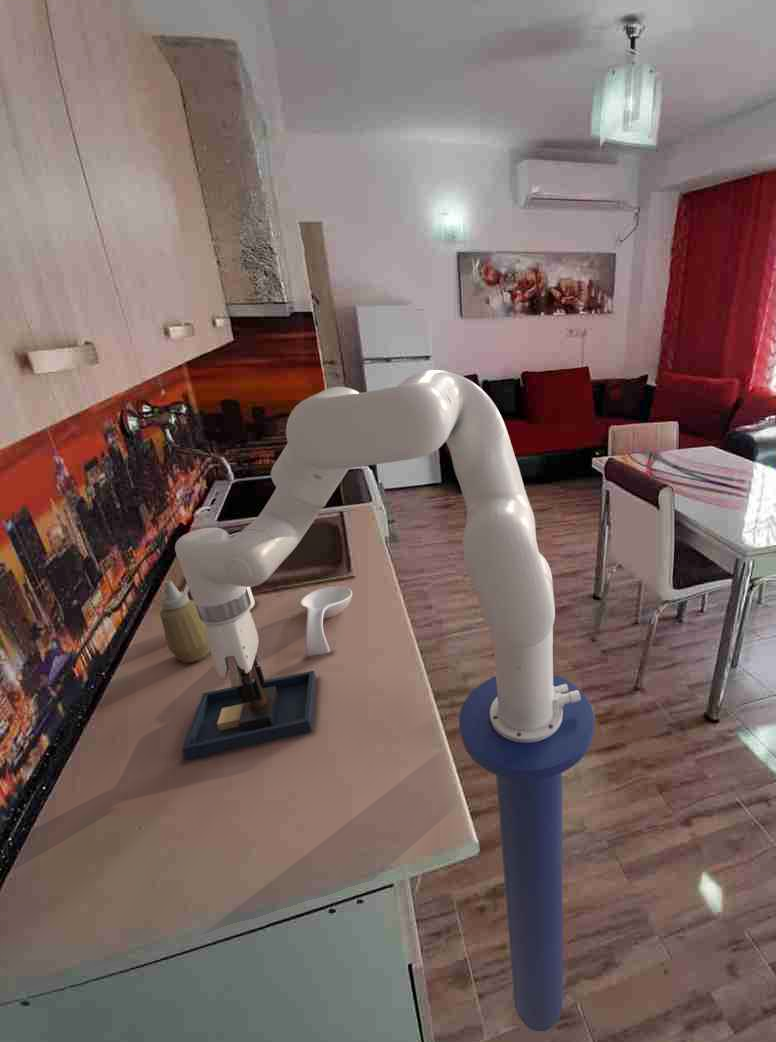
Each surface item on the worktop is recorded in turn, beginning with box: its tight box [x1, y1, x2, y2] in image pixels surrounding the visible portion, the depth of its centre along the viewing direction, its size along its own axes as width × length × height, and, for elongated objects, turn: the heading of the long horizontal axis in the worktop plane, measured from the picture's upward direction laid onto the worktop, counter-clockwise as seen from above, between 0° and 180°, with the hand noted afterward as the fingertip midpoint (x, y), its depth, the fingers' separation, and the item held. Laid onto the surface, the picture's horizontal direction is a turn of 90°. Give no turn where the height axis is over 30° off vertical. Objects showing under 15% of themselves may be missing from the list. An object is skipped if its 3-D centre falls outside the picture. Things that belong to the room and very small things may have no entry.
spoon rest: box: [299, 585, 353, 657], centre depth 115 cm, size 24×12×7 cm, turn 11°
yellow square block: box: [217, 704, 243, 731], centre depth 90 cm, size 4×4×2 cm
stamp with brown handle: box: [238, 664, 278, 732], centre depth 89 cm, size 8×5×10 cm, turn 15°
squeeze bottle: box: [159, 579, 211, 663], centre depth 105 cm, size 8×8×18 cm
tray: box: [181, 670, 317, 761], centre depth 90 cm, size 20×14×2 cm
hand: (254, 692), depth 89 cm, fingers closed on stamp with brown handle, 2 cm apart
